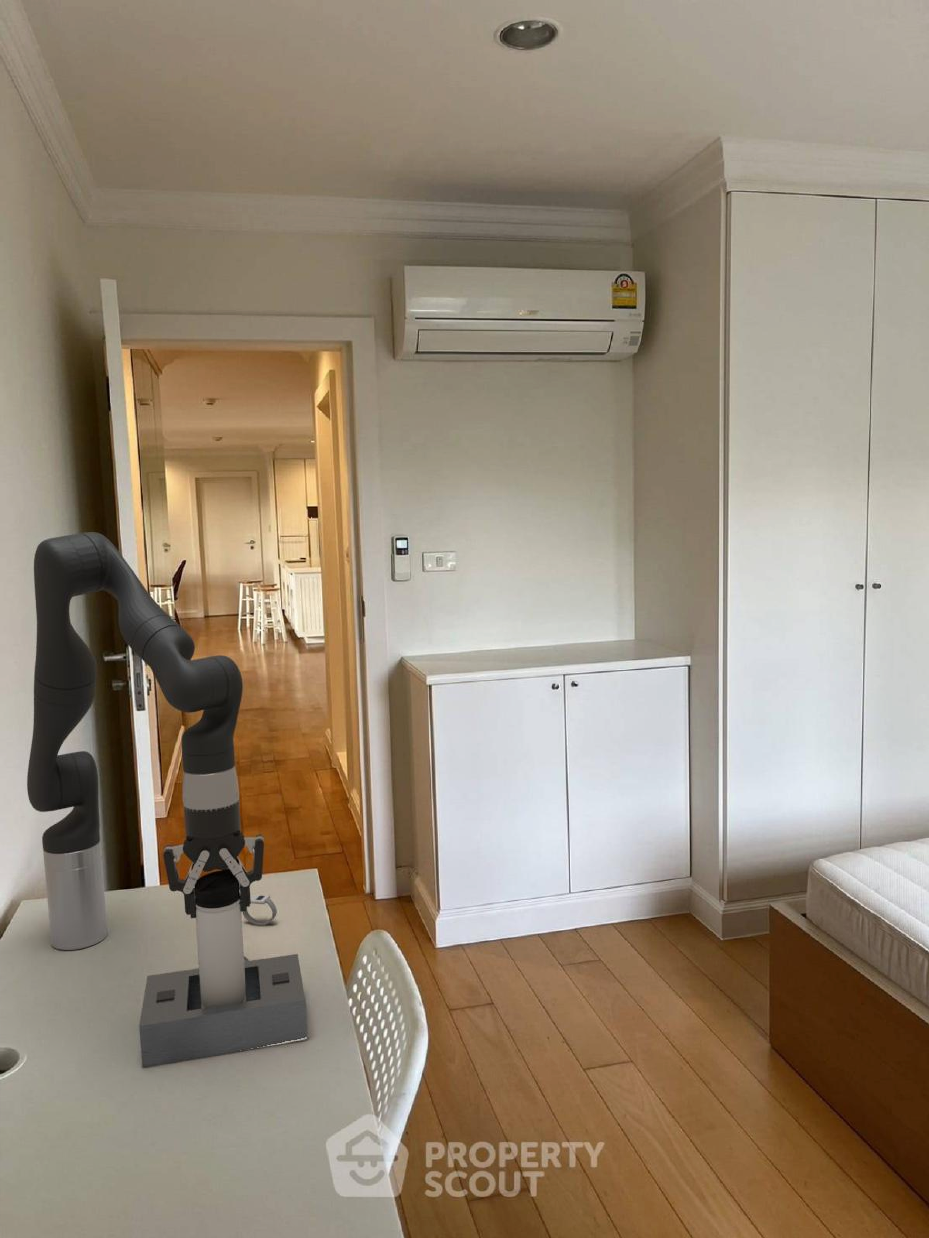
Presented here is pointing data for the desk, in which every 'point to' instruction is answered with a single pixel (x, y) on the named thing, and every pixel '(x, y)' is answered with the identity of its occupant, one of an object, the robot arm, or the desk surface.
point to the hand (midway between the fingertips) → (218, 912)
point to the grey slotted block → (221, 1013)
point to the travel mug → (220, 939)
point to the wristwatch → (261, 900)
